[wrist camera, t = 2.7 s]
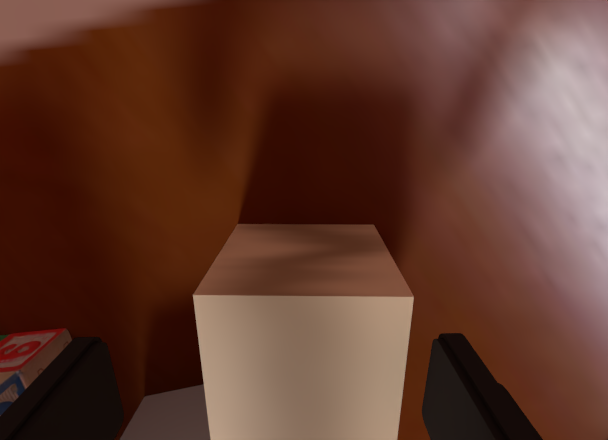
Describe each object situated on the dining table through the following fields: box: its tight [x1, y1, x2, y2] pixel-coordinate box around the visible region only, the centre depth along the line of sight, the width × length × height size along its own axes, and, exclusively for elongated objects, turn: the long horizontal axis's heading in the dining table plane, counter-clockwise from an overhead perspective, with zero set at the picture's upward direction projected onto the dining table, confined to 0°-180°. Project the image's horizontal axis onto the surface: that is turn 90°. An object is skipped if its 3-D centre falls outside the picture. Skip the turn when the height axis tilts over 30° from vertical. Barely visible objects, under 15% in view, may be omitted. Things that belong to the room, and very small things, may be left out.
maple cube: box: [193, 224, 414, 440], centre depth 13 cm, size 6×6×6 cm
